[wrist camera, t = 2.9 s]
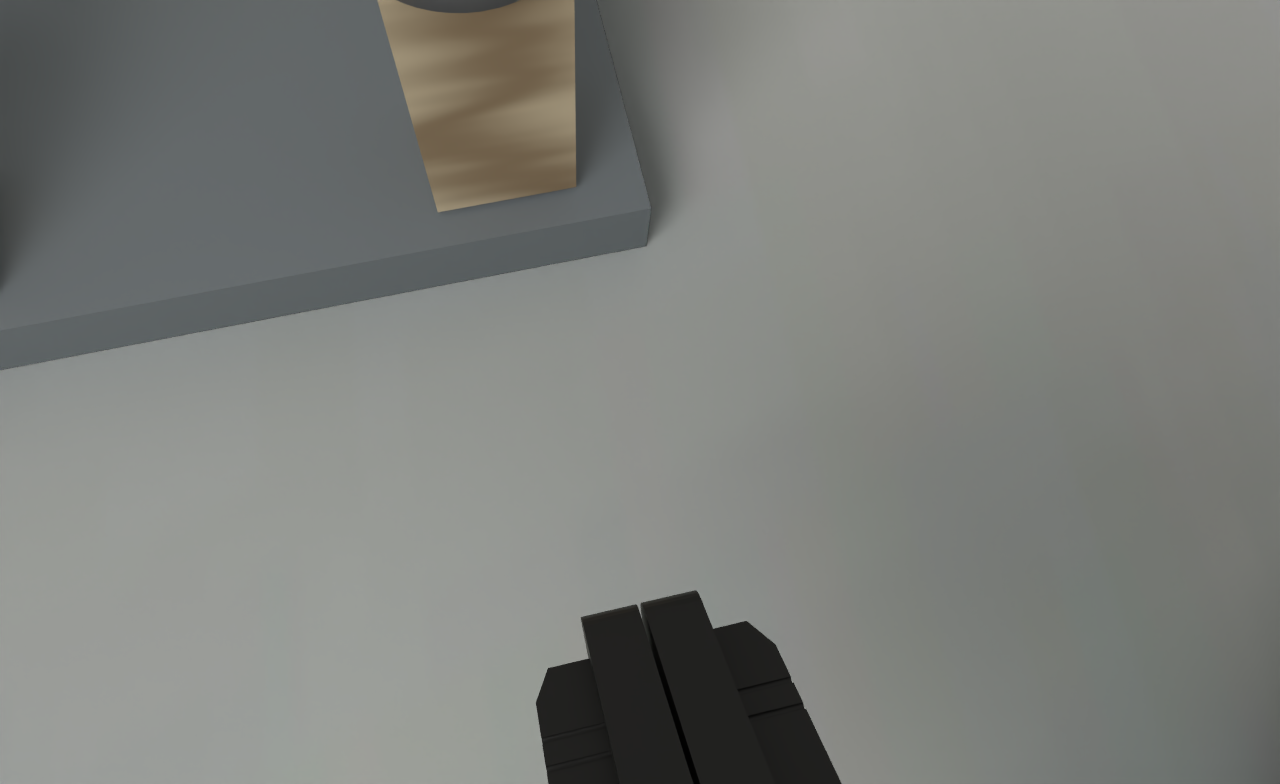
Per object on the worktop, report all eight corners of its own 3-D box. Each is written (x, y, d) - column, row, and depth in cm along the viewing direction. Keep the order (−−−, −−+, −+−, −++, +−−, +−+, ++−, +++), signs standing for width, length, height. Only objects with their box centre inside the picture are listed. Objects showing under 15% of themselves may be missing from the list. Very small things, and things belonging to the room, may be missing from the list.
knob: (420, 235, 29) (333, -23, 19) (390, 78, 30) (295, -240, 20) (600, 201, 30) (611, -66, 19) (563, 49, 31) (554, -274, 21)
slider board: (-174, 403, 29) (-512, 263, 20) (-177, 23, 33) (-465, -240, 24) (646, 245, 32) (671, 61, 23) (560, -88, 36) (552, -360, 27)
